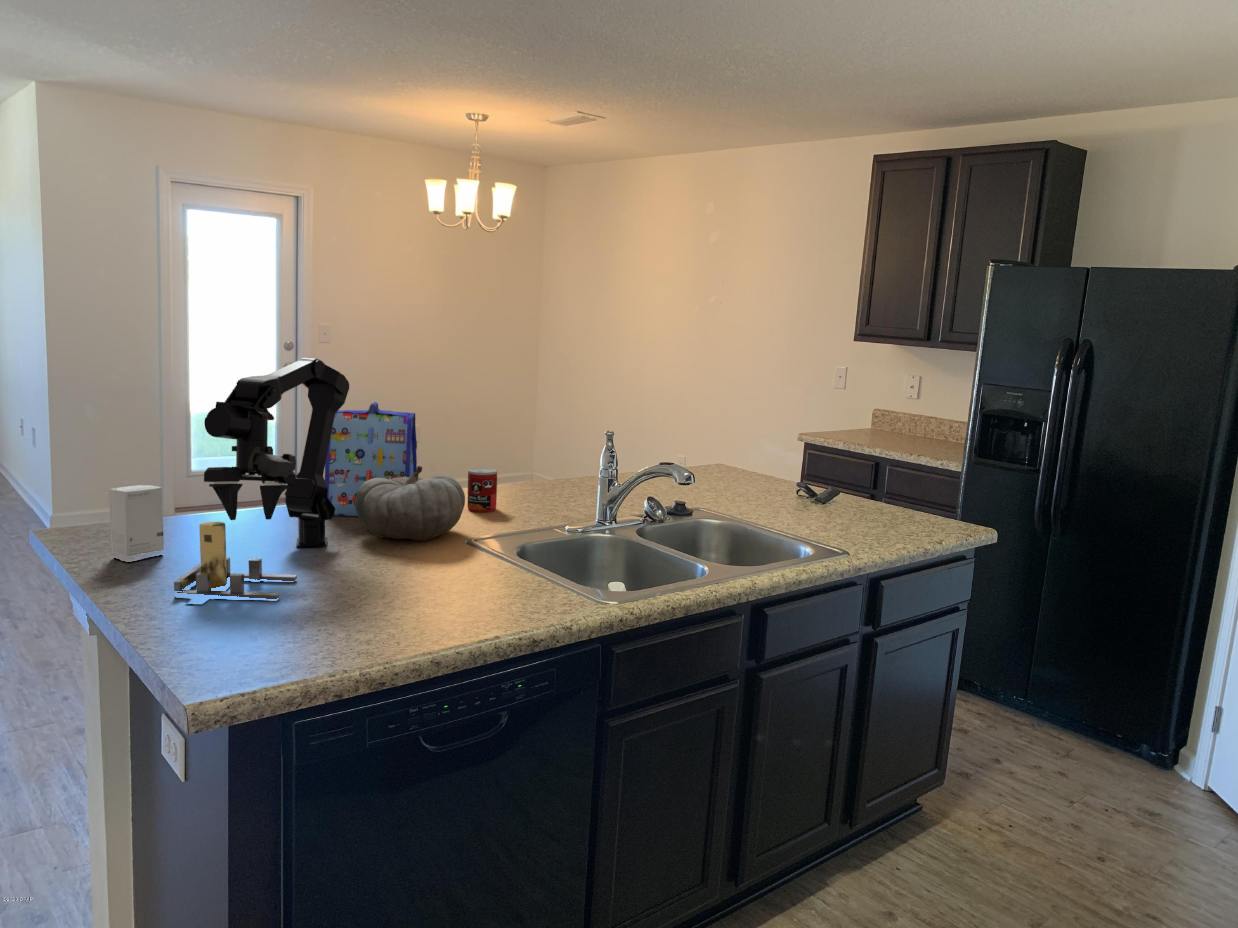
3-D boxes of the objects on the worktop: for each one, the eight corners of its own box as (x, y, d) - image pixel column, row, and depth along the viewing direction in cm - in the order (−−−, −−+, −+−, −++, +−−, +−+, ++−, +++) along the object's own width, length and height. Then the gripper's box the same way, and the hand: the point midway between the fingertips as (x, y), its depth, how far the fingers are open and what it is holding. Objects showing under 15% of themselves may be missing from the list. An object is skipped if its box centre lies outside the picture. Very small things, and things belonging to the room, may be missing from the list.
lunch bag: (417, 507, 241) (419, 401, 236) (407, 519, 228) (408, 407, 222) (336, 504, 240) (336, 398, 235) (321, 516, 227) (320, 403, 222)
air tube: (206, 584, 171) (204, 520, 169) (232, 585, 171) (231, 521, 169) (195, 592, 166) (193, 527, 164) (223, 593, 166) (221, 528, 164)
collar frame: (200, 577, 174) (199, 555, 173) (297, 580, 175) (296, 558, 175) (165, 604, 159) (164, 580, 158) (271, 607, 160) (270, 583, 159)
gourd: (457, 541, 199) (447, 464, 198) (347, 554, 200) (336, 478, 199) (476, 526, 224) (467, 457, 223) (378, 537, 225) (368, 469, 223)
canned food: (462, 510, 240) (463, 470, 238) (475, 505, 247) (476, 466, 245) (488, 514, 238) (489, 473, 236) (500, 508, 245) (501, 468, 243)
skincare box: (127, 564, 180) (124, 492, 178) (110, 558, 183) (106, 488, 181) (166, 555, 188) (163, 486, 185) (148, 550, 191) (145, 482, 188)
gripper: (246, 436, 166) (245, 520, 165) (316, 442, 183) (316, 519, 182) (202, 438, 170) (201, 520, 169) (274, 444, 187) (274, 519, 187)
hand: (251, 519), depth 177 cm, fingers open, 9 cm apart
